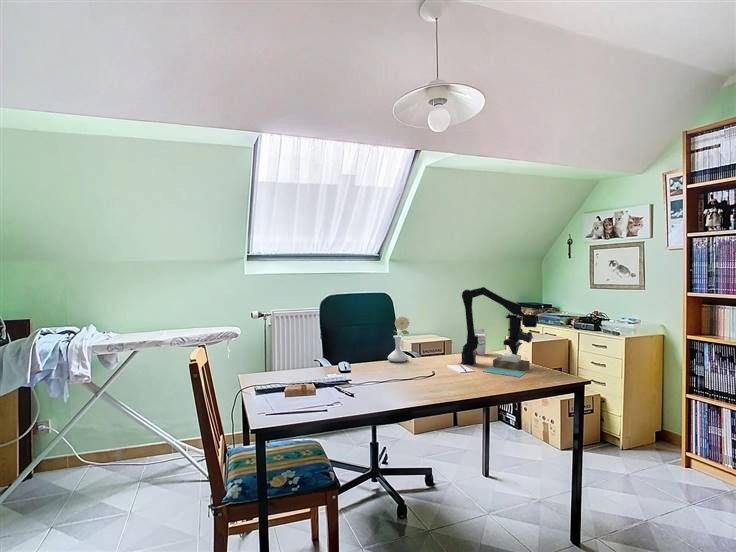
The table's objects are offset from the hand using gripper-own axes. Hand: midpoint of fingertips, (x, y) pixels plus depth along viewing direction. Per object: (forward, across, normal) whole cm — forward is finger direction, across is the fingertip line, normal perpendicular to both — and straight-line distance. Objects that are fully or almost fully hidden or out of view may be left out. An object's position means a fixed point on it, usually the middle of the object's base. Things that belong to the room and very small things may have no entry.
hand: (515, 356), depth 225 cm
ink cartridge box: (+5, +16, +27) cm, 32 cm away
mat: (+5, -16, 0) cm, 17 cm away
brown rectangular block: (+5, -6, 0) cm, 8 cm away
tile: (0, -6, 0) cm, 6 cm away
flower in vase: (+5, -25, +56) cm, 61 cm away
